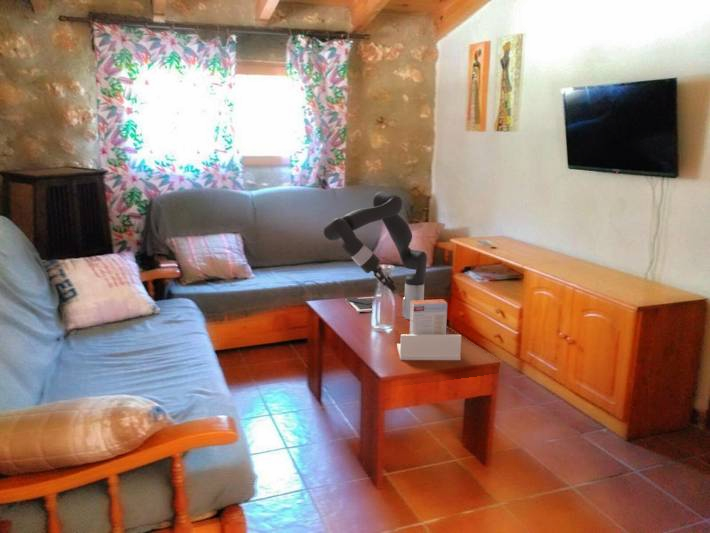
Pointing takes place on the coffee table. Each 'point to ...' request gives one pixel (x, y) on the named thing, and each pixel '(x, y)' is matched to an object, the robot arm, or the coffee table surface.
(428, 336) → the book rack
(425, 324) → the cracker box
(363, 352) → the coffee table surface
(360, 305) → the picture frame
